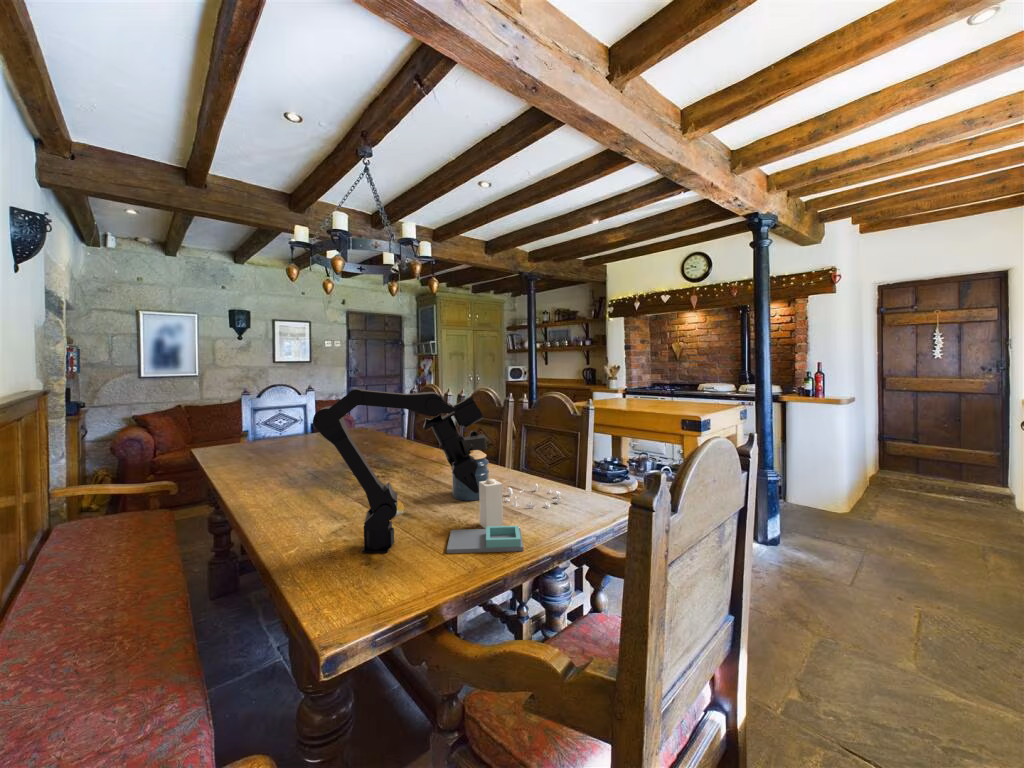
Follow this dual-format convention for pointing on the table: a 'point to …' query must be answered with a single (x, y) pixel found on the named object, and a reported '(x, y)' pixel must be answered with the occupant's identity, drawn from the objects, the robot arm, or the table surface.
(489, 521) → the column
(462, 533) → the baseplate
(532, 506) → the game piece set
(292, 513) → the table surface
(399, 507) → the bread roll
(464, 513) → the table surface
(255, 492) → the table surface
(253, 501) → the table surface
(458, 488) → the canister
